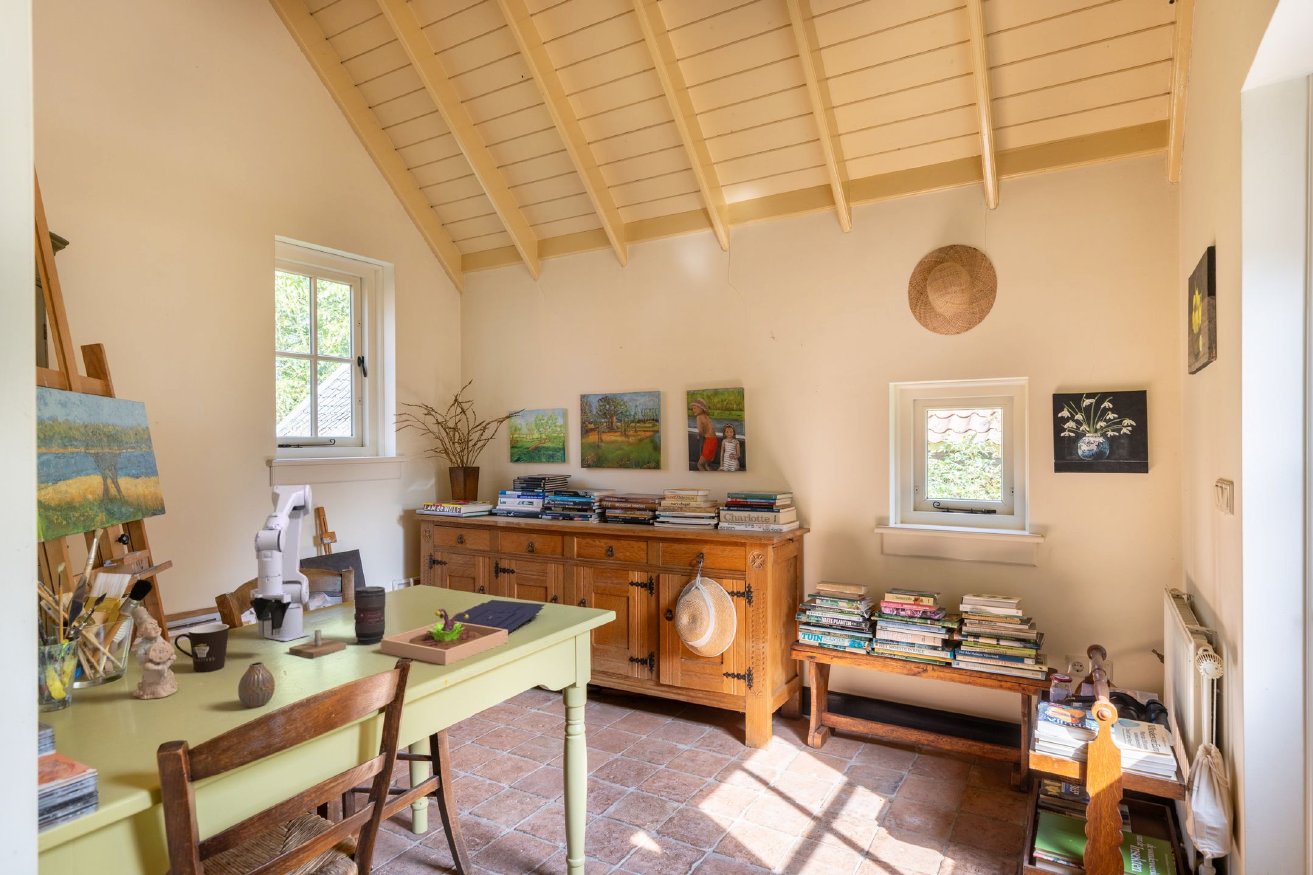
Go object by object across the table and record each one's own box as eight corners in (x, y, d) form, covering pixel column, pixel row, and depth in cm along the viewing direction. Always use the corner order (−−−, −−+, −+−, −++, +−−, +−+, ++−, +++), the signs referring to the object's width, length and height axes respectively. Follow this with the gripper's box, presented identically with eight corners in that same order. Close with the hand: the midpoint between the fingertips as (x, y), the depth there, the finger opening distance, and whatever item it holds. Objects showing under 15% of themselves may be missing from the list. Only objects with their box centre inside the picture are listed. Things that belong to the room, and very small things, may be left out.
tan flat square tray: (381, 652, 193) (381, 639, 193) (446, 631, 214) (446, 620, 214) (445, 665, 182) (445, 651, 182) (507, 642, 202) (507, 629, 202)
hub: (254, 634, 189) (254, 619, 189) (273, 630, 194) (273, 615, 194) (266, 637, 187) (266, 621, 187) (285, 632, 191) (285, 617, 191)
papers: (551, 612, 233) (550, 602, 233) (500, 648, 205) (499, 636, 205) (487, 607, 242) (486, 596, 241) (429, 641, 214) (428, 629, 213)
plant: (395, 648, 198) (395, 607, 199) (461, 634, 212) (460, 596, 212) (428, 664, 184) (428, 620, 184) (496, 648, 197) (496, 607, 197)
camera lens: (374, 645, 199) (373, 591, 199) (348, 644, 201) (348, 590, 201) (391, 638, 207) (391, 586, 207) (366, 637, 209) (366, 585, 209)
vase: (247, 699, 158) (247, 659, 158) (280, 698, 159) (280, 658, 159) (231, 710, 151) (231, 668, 152) (266, 709, 152) (266, 667, 152)
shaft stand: (289, 653, 193) (289, 632, 193) (322, 643, 202) (322, 624, 202) (313, 658, 188) (313, 637, 188) (346, 648, 197) (346, 628, 197)
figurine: (123, 697, 160) (123, 607, 160) (163, 685, 167) (163, 599, 168) (148, 703, 156) (148, 610, 156) (187, 691, 164) (187, 602, 164)
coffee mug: (237, 665, 183) (237, 625, 183) (206, 675, 175) (206, 634, 175) (203, 660, 187) (203, 622, 187) (171, 670, 178) (171, 630, 178)
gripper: (238, 575, 191) (239, 626, 191) (272, 580, 183) (272, 633, 183) (264, 571, 197) (264, 620, 197) (298, 575, 190) (298, 627, 190)
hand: (270, 626), depth 190 cm, fingers closed on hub, 5 cm apart
